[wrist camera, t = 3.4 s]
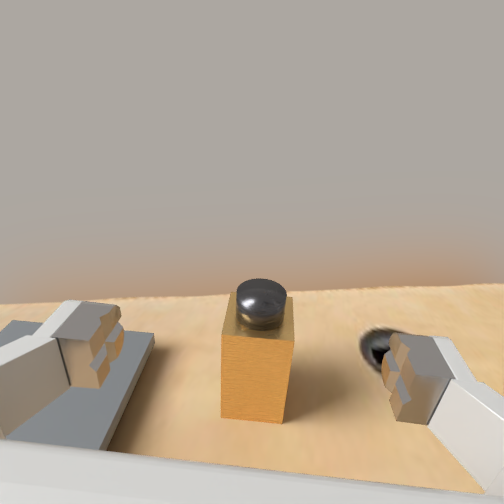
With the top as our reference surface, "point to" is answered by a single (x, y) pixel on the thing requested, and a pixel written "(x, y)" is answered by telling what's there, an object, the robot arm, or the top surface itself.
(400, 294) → the top surface
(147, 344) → the base
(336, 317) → the top surface
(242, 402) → the block with dome knob
